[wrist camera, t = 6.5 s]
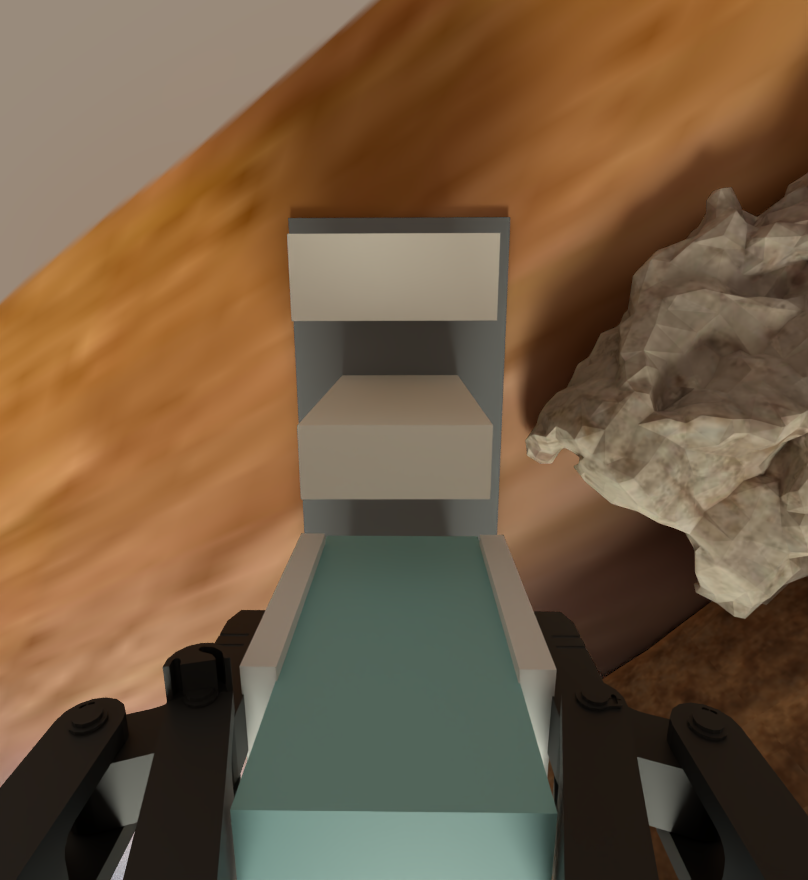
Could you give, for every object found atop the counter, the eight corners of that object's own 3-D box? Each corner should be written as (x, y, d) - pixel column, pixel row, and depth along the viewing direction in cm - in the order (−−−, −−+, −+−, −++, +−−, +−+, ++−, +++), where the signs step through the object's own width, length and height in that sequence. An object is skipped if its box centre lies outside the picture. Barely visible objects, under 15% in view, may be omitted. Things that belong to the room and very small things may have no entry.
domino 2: (456, 420, 24) (490, 499, 14) (343, 420, 24) (300, 499, 14) (457, 374, 24) (493, 425, 14) (342, 375, 24) (297, 425, 14)
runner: (488, 712, 28) (489, 718, 28) (315, 712, 28) (314, 717, 28) (508, 218, 22) (510, 217, 22) (290, 219, 22) (288, 218, 22)
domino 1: (458, 313, 23) (496, 320, 13) (340, 313, 23) (291, 321, 13) (459, 263, 22) (500, 232, 13) (338, 264, 22) (287, 233, 13)
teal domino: (476, 590, 18) (549, 912, 9) (329, 589, 18) (239, 908, 9) (477, 536, 18) (557, 813, 8) (327, 535, 18) (230, 810, 8)
